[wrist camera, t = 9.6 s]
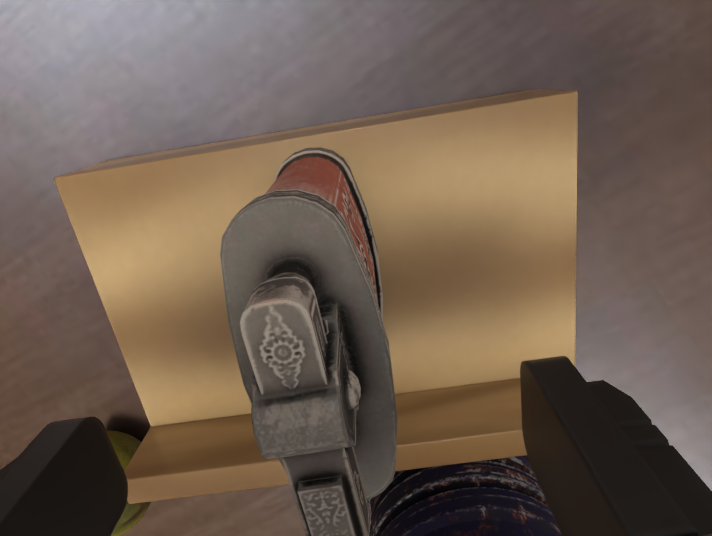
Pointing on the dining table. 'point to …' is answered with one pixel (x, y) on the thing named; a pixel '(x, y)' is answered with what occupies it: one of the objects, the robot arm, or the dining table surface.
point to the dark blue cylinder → (464, 501)
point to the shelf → (397, 270)
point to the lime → (125, 452)
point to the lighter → (314, 339)
